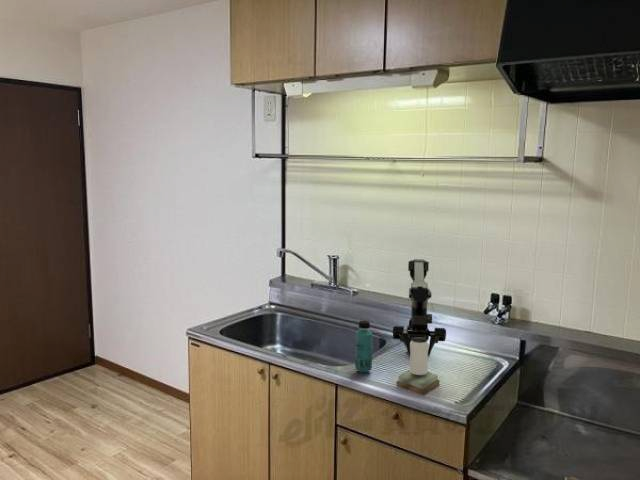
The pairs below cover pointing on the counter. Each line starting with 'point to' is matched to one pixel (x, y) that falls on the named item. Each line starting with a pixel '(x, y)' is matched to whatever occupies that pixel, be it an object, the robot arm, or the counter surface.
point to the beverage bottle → (363, 347)
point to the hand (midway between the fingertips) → (418, 355)
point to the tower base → (418, 390)
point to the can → (418, 356)
